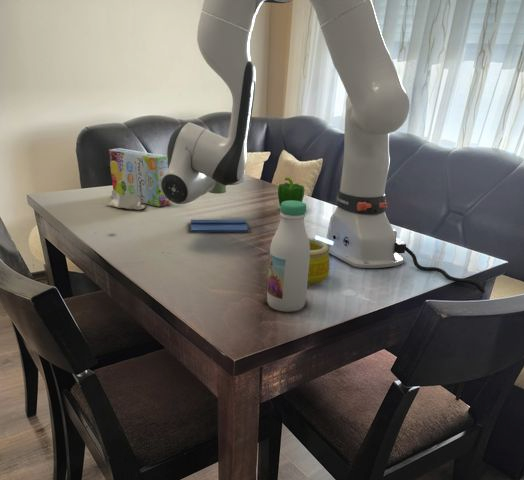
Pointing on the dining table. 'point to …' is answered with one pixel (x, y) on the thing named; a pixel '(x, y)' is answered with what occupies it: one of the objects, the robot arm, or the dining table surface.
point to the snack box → (139, 175)
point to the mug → (318, 261)
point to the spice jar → (218, 189)
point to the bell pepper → (290, 191)
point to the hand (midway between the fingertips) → (217, 167)
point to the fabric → (126, 201)
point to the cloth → (218, 226)
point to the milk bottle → (289, 260)
